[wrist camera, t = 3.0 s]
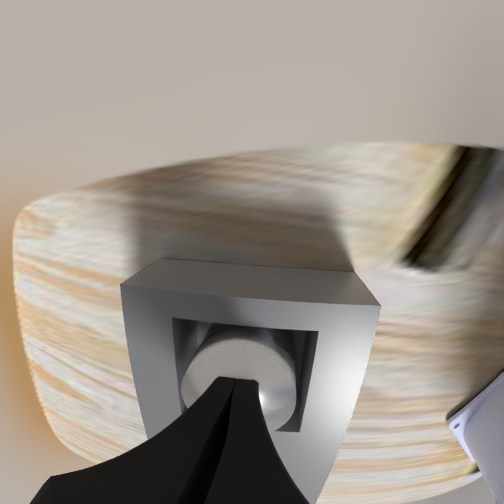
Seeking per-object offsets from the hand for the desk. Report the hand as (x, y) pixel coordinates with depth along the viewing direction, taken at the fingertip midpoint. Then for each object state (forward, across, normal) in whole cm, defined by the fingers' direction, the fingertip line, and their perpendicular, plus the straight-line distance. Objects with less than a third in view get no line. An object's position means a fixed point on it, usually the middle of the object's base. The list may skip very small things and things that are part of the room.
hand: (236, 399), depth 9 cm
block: (+5, 0, +4) cm, 7 cm away
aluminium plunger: (+4, 0, 0) cm, 4 cm away
